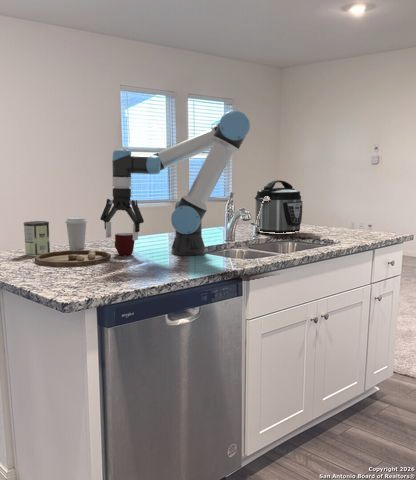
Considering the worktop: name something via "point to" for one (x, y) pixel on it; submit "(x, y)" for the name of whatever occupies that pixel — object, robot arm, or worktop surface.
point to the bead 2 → (91, 256)
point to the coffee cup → (76, 232)
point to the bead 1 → (80, 258)
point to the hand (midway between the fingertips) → (121, 238)
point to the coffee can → (36, 237)
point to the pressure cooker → (279, 208)
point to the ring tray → (71, 258)
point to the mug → (124, 243)
